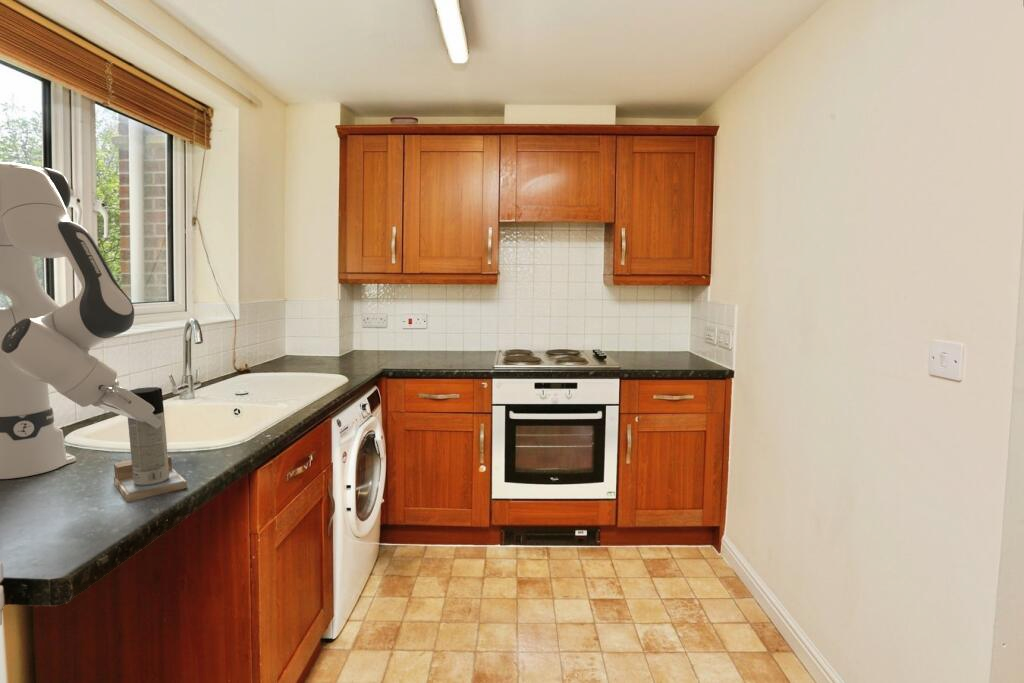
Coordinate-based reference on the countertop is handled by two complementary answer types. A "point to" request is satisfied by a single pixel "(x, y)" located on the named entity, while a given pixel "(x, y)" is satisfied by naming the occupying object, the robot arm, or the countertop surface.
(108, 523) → the countertop surface
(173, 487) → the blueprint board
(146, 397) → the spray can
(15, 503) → the countertop surface
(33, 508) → the countertop surface
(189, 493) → the countertop surface
